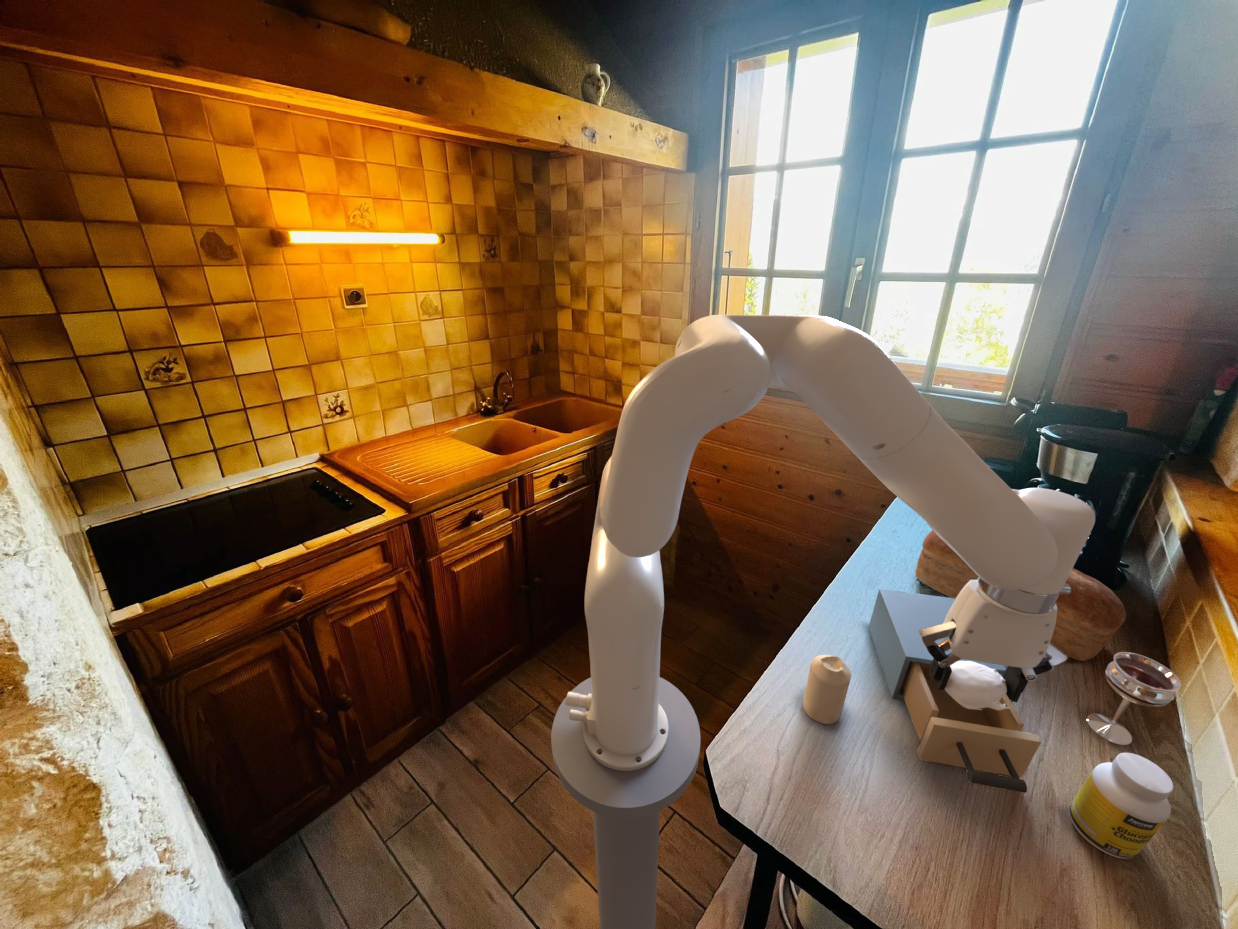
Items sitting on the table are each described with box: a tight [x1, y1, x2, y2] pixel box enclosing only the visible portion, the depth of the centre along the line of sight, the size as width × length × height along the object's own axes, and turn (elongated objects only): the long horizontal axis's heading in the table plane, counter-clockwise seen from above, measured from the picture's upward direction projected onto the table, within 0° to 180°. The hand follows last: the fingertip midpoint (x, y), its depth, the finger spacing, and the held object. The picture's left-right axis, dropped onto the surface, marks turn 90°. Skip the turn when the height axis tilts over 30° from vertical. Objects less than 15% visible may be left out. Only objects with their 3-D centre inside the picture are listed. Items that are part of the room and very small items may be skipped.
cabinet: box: [868, 589, 1007, 701], centre depth 81 cm, size 16×14×9 cm
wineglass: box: [1086, 651, 1182, 746], centre depth 70 cm, size 7×7×12 cm
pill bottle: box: [1068, 752, 1175, 860], centre depth 58 cm, size 6×6×12 cm
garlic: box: [945, 661, 1010, 711], centre depth 67 cm, size 8×7×4 cm
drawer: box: [901, 661, 1042, 794], centre depth 69 cm, size 20×12×7 cm, turn 168°
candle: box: [802, 654, 852, 725], centre depth 74 cm, size 6×6×10 cm
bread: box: [915, 529, 1127, 662], centre depth 92 cm, size 12×31×14 cm, turn 35°
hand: (971, 686), depth 67 cm, fingers closed on garlic, 8 cm apart
